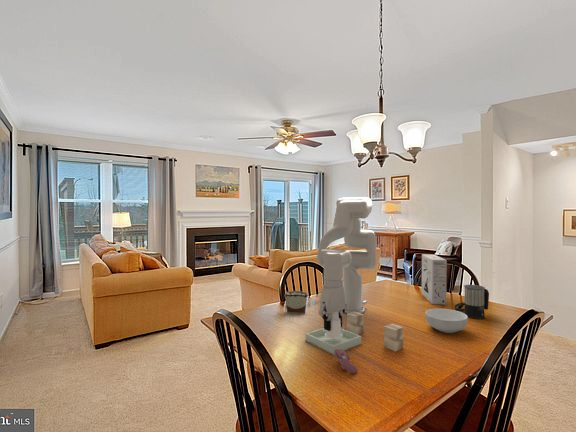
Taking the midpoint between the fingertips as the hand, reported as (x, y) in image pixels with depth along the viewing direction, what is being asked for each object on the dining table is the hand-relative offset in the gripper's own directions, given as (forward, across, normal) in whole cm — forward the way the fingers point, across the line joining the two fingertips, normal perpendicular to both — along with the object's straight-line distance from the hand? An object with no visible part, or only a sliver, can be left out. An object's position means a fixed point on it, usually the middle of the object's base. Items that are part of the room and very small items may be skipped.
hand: (333, 327), depth 127 cm
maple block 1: (+6, -15, -1) cm, 16 cm away
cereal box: (+7, -91, -7) cm, 91 cm away
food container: (+6, -13, -39) cm, 41 cm away
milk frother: (+6, -80, +18) cm, 82 cm away
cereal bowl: (+6, -49, +21) cm, 54 cm away
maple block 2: (+6, -15, +18) cm, 24 cm away
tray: (+6, 0, 0) cm, 6 cm away
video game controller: (+6, +12, +17) cm, 21 cm away
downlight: (+3, 0, 0) cm, 3 cm away
